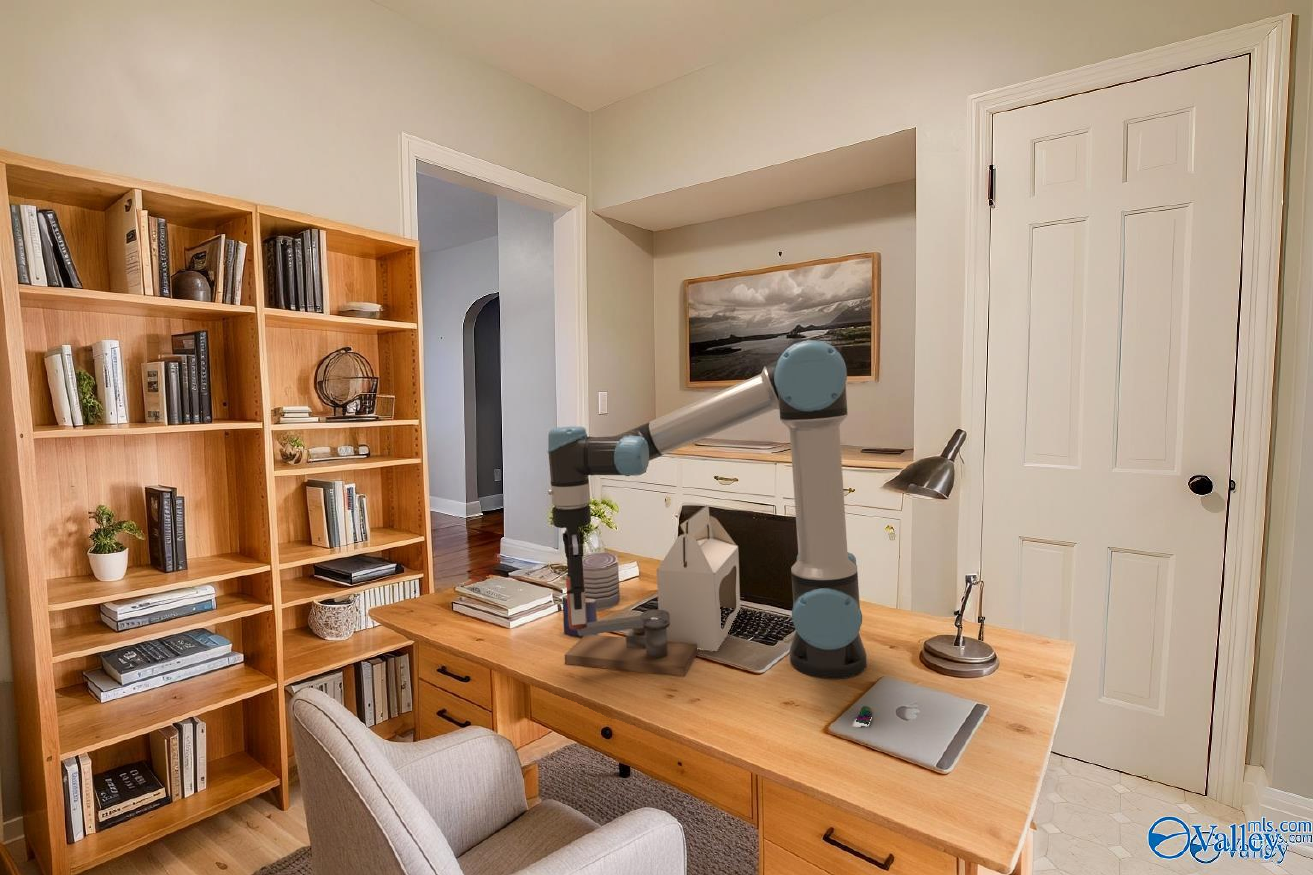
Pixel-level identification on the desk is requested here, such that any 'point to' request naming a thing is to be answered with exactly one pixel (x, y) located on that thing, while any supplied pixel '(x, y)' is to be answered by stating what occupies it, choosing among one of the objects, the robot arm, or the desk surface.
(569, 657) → the wooden base plate
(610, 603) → the can
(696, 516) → the gable box
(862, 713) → the green rounded lump
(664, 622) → the lever
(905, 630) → the desk surface
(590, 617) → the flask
